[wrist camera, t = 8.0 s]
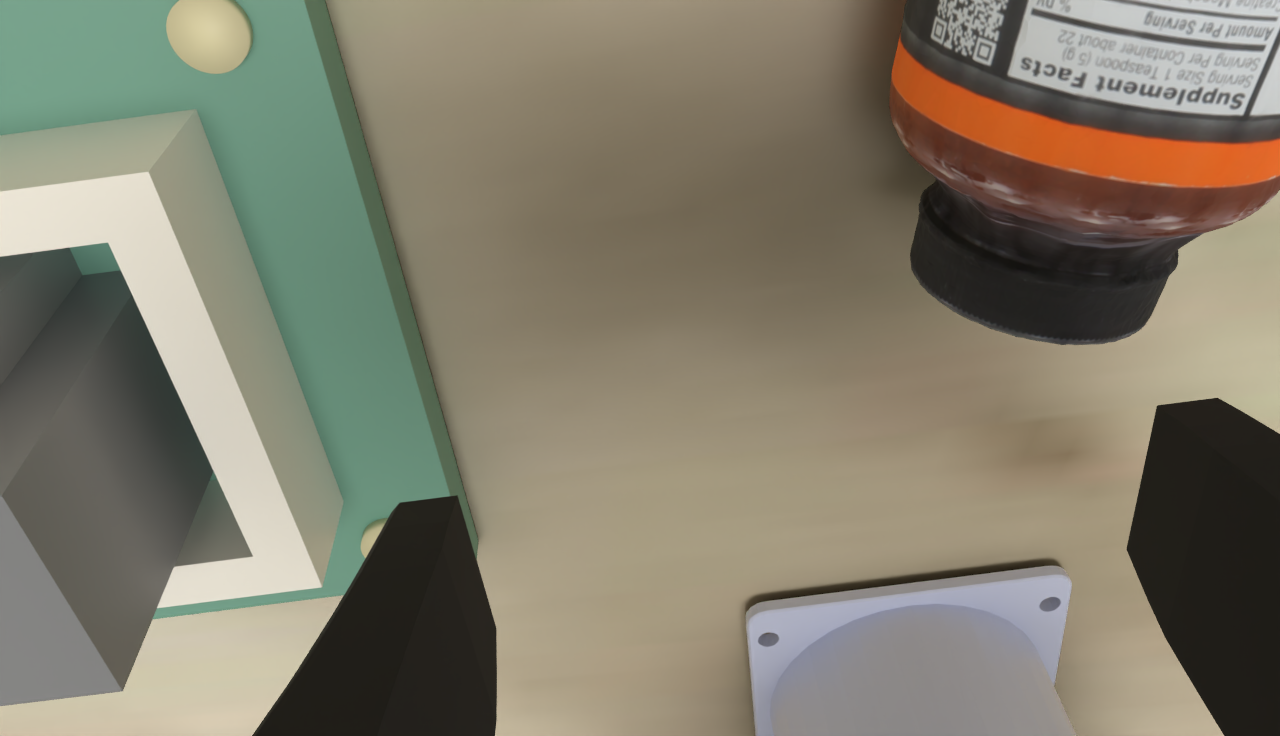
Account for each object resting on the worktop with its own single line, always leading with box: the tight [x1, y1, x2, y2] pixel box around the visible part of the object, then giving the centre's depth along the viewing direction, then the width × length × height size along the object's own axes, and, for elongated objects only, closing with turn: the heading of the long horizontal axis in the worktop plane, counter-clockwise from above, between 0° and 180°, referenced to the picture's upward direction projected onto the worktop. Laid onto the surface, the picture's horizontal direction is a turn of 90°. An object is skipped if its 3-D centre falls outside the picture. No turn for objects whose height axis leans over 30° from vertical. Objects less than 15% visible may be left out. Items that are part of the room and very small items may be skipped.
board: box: [0, 0, 478, 619], centre depth 20 cm, size 14×12×2 cm
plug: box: [0, 248, 213, 706], centre depth 17 cm, size 5×4×6 cm
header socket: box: [0, 109, 344, 608], centre depth 19 cm, size 9×8×2 cm
